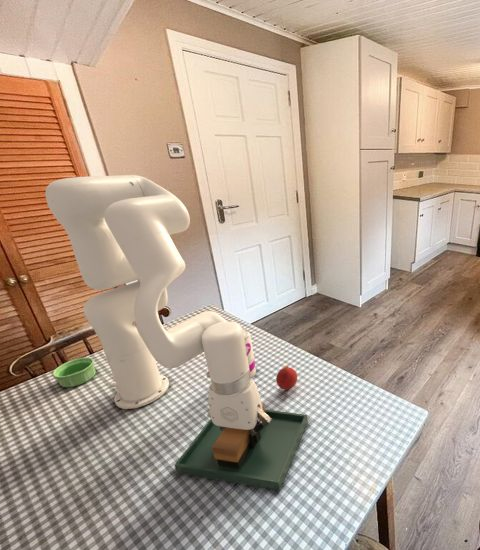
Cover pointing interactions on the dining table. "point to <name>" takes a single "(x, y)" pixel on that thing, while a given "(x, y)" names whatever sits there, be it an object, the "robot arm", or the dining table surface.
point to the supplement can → (249, 352)
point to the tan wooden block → (232, 446)
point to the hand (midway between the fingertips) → (243, 440)
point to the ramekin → (75, 372)
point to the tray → (259, 461)
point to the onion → (286, 378)
